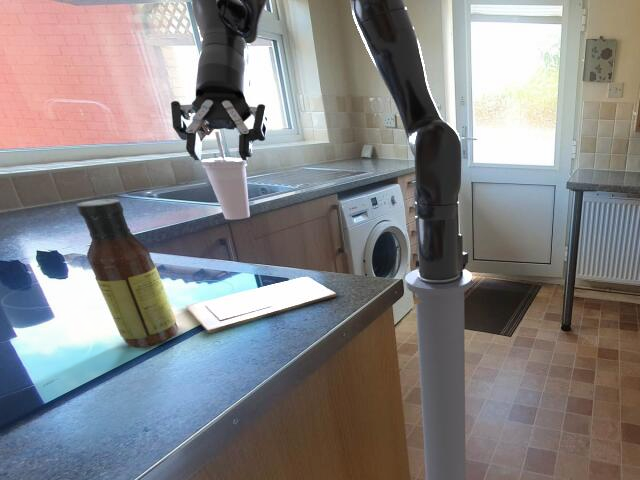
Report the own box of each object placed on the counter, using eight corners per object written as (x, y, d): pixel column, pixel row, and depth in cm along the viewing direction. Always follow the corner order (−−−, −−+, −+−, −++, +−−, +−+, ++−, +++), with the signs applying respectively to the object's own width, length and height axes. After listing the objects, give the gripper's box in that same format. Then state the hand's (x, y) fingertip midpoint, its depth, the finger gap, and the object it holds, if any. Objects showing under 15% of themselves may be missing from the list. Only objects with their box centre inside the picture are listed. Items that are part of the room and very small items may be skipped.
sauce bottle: (179, 324, 63) (139, 195, 56) (179, 341, 59) (135, 203, 51) (123, 335, 60) (72, 199, 52) (118, 354, 55) (61, 208, 47)
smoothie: (257, 211, 76) (239, 131, 70) (260, 218, 71) (241, 133, 65) (215, 215, 73) (193, 131, 67) (215, 223, 68) (191, 133, 62)
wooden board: (307, 278, 82) (306, 275, 82) (337, 296, 75) (336, 292, 75) (186, 309, 68) (185, 305, 68) (208, 333, 61) (207, 329, 61)
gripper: (163, 58, 66) (153, 140, 61) (263, 64, 71) (262, 141, 65) (185, 95, 73) (178, 172, 67) (275, 98, 77) (275, 171, 72)
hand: (219, 156), depth 66 cm, fingers closed on smoothie, 6 cm apart
